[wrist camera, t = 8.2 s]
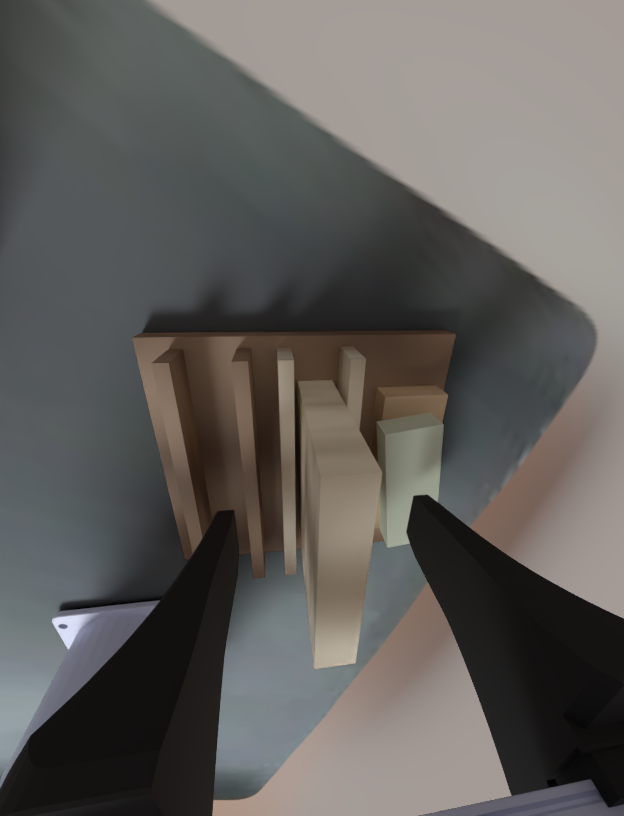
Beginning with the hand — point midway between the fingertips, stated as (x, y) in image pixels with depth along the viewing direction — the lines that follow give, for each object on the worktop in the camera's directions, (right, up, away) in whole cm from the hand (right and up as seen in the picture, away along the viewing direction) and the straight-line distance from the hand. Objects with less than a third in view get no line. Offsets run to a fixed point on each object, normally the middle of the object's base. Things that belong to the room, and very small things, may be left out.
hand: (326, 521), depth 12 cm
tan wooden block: (0, +2, +4) cm, 4 cm away
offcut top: (+4, +1, +3) cm, 5 cm away
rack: (-1, +2, +5) cm, 5 cm away
